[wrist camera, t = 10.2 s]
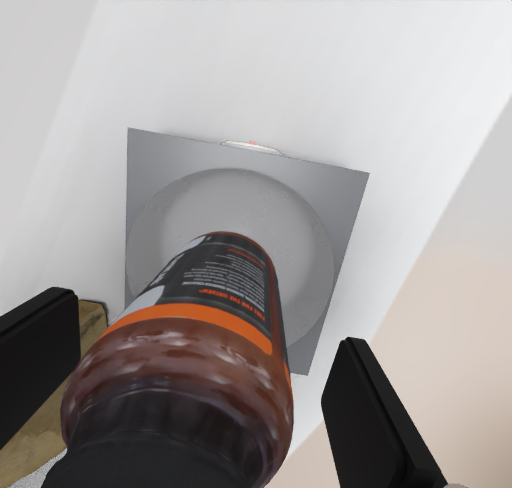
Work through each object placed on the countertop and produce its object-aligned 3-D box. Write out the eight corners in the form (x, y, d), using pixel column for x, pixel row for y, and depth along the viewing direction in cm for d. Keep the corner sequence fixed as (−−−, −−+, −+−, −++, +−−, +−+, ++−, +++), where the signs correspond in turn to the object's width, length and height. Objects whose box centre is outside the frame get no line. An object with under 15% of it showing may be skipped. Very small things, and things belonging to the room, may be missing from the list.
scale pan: (304, 364, 17) (306, 374, 16) (130, 336, 17) (124, 344, 16) (356, 190, 14) (361, 191, 13) (135, 149, 13) (127, 148, 12)
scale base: (299, 338, 21) (307, 375, 18) (149, 312, 21) (124, 345, 17) (348, 163, 17) (372, 163, 13) (158, 128, 17) (127, 117, 13)
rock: (23, 283, 18) (-28, 388, 19) (6, 385, 12) (-67, 525, 13) (161, 302, 26) (117, 376, 27) (191, 371, 20) (133, 461, 21)
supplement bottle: (165, 231, 14) (-193, 480, 3) (274, 224, 13) (324, 468, 3) (183, 324, 15) (2, 692, 5) (279, 319, 15) (321, 697, 4)
